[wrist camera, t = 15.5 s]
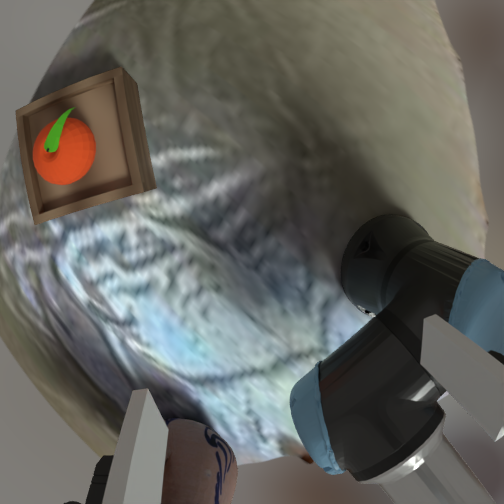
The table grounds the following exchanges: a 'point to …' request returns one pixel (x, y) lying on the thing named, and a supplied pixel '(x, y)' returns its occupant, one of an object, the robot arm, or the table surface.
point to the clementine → (64, 150)
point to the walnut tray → (107, 144)
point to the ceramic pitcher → (197, 465)
